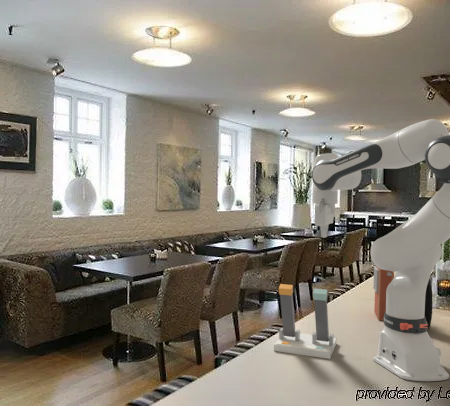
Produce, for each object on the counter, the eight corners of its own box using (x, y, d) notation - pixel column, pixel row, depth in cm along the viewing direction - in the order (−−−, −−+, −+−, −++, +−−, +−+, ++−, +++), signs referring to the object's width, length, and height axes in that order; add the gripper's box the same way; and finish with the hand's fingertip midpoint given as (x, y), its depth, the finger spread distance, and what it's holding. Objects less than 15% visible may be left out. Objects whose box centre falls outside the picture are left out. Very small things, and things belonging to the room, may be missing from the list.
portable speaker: (405, 325, 176) (406, 275, 176) (431, 328, 172) (433, 277, 172) (404, 331, 168) (405, 279, 168) (432, 335, 165) (433, 281, 164)
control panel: (388, 312, 195) (394, 322, 180) (371, 311, 196) (376, 321, 181) (390, 262, 194) (395, 268, 179) (372, 262, 195) (377, 267, 181)
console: (284, 336, 160) (285, 322, 160) (336, 343, 154) (336, 329, 153) (273, 350, 146) (274, 335, 146) (329, 359, 140) (330, 342, 139)
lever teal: (317, 336, 150) (314, 288, 141) (329, 338, 148) (327, 289, 140) (316, 341, 148) (312, 293, 139) (328, 343, 146) (326, 294, 138)
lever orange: (284, 332, 153) (280, 283, 146) (296, 334, 152) (292, 285, 145) (283, 337, 151) (278, 288, 144) (294, 338, 150) (291, 289, 143)
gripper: (329, 199, 152) (328, 240, 152) (337, 198, 171) (336, 235, 171) (310, 198, 154) (310, 239, 154) (320, 198, 173) (319, 234, 173)
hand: (324, 237), depth 163 cm, fingers closed
